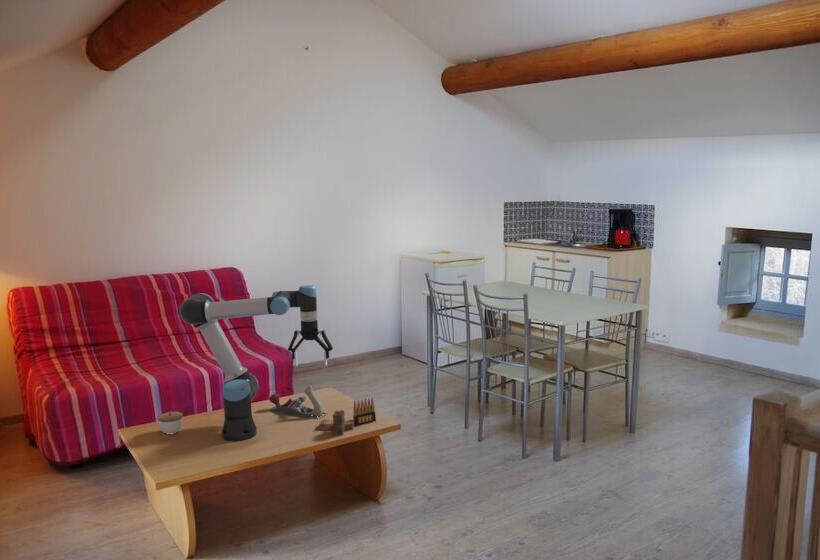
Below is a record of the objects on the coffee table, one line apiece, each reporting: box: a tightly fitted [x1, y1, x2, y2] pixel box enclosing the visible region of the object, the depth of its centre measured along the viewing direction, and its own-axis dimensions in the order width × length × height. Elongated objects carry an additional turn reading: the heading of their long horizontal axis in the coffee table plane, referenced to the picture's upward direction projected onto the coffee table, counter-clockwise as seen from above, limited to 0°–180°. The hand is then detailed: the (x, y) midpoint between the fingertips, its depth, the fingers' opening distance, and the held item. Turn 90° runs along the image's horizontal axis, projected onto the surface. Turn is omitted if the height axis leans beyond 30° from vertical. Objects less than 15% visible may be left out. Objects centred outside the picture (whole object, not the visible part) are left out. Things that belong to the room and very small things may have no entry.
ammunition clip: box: [352, 396, 377, 427], centre depth 324 cm, size 11×2×12 cm, turn 120°
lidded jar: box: [157, 411, 184, 434], centre depth 319 cm, size 11×11×9 cm
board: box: [318, 419, 355, 430], centre depth 320 cm, size 15×6×2 cm, turn 86°
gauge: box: [332, 409, 346, 436], centre depth 315 cm, size 4×10×10 cm, turn 176°
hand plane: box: [268, 384, 327, 419], centre depth 340 cm, size 7×31×15 cm, turn 63°
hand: (311, 365), depth 324 cm, fingers open, 13 cm apart
